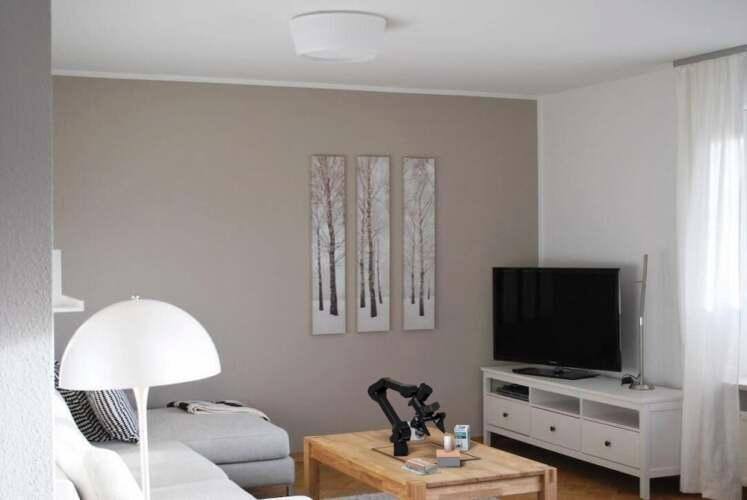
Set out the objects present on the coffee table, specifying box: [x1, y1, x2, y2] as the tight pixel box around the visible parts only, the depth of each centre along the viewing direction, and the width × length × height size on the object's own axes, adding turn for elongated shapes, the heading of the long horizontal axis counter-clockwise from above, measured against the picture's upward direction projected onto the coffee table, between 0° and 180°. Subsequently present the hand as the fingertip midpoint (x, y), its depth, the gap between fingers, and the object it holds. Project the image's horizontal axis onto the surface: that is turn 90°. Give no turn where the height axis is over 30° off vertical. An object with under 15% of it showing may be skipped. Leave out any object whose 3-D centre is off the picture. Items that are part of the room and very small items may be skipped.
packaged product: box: [400, 457, 441, 477], centre depth 435 cm, size 18×5×10 cm
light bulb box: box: [453, 424, 471, 452], centre depth 480 cm, size 11×7×11 cm, turn 168°
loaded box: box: [436, 456, 461, 469], centre depth 444 cm, size 10×10×5 cm
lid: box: [435, 435, 461, 458], centre depth 444 cm, size 10×10×9 cm
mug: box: [407, 421, 426, 442], centre depth 506 cm, size 13×10×8 cm
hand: (437, 434), depth 449 cm, fingers open, 9 cm apart
